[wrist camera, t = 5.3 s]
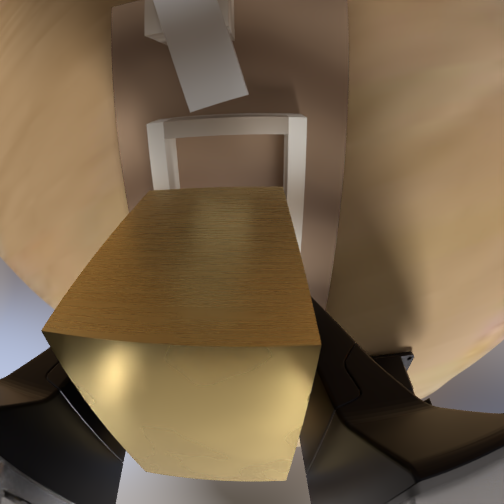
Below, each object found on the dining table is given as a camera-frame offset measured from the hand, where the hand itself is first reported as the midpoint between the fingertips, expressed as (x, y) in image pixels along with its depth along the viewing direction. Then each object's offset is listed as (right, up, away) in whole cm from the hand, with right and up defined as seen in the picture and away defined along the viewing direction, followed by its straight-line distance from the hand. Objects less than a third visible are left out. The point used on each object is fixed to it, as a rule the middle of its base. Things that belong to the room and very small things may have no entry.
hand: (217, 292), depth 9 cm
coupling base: (0, +5, +8) cm, 10 cm away
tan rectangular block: (0, +1, +1) cm, 1 cm away
